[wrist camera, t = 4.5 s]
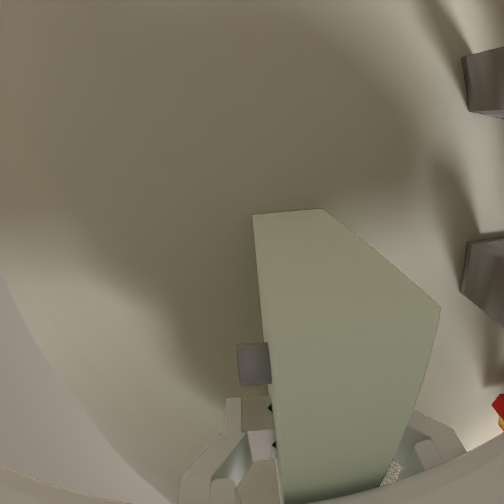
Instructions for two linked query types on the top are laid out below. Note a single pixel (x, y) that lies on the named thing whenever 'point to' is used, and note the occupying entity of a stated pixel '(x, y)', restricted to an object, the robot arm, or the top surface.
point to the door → (334, 353)
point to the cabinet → (500, 249)
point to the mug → (500, 409)
